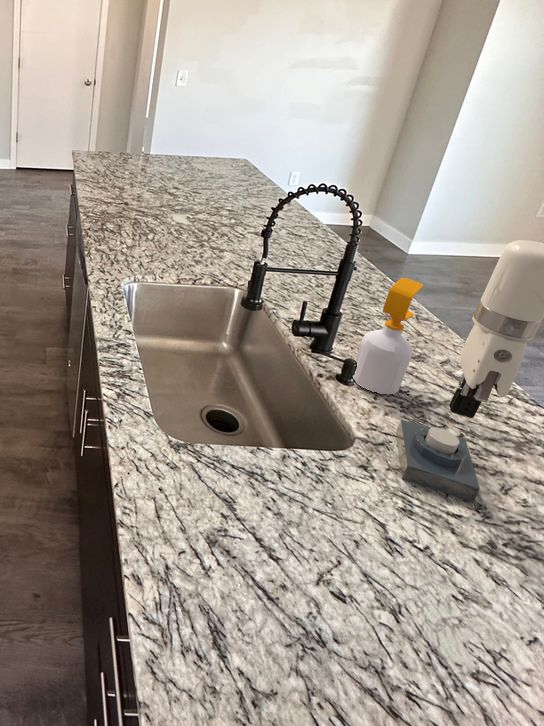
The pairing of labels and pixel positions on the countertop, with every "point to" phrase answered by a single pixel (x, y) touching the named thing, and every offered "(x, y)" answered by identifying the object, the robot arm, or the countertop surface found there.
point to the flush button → (442, 440)
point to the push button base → (435, 463)
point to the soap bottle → (388, 343)
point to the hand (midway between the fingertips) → (460, 412)
